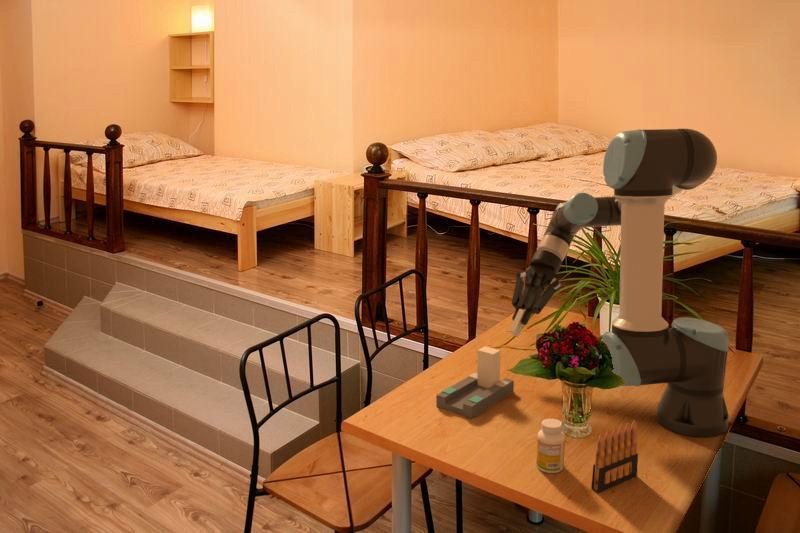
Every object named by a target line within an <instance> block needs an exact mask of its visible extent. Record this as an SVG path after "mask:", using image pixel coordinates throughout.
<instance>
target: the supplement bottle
mask: <svg viewBox="0 0 800 533" xmlns="http://www.w3.org/2000/svg"><path fill="white" fill-rule="evenodd" d="M565 446H566V435H565V433H564V432H563V422H562V421H561V420H560V419H555V418H546V419H543V420H542V421H541V429H540V430H539V431H538V433H537V442H536V467H537V468H538V470H540V472H541V471H542V472H544V473H548V474H556V473H557V474H558V473H560V472H562V471H563V469H564V466H565V448H566V447H565Z"/></svg>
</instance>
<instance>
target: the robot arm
mask: <svg viewBox="0 0 800 533" xmlns="http://www.w3.org/2000/svg"><path fill="white" fill-rule="evenodd" d="M717 164H718V155H717V150H716V147H715V145H714V143H713V141H711V139H710V138H709V137H707V135H705V134H704V133H702V132H700V131H698V130H695V129H693V128H692V129H691V128H668V129H667V128H666V129H665V128H664V129H659V128H658V129H639V128H638V129H633V130H625V131H621V132H619V133H617V134H616V135H614V136H613V137H612V139H611V140H610V142H609V143H608V145H607V148H606V150H605V153H604V158H603V166H602V167H603V168H602V169H603V170H602V172H603V173H602V174H603V177H604V182H605V184H606V186H608V187H609V188H610V189H613V196H596V197H594V196H593V195H592V194H590V193H588V192H587V193H586V192H578V193H576V194H573V196H571V197H570V198H569V199H567V200H566V201H565V202H560V203H559V204H558V205H557V206H556V208H555V210H554V211H553V212H552V216H551V218H550V221H549V223H548V225H547V227H546V229H545V232H544V233H543V236H542V237H541V239H540V242H539V243H538V246H537V247H536V251H535V252H534V255H533V256H532V258H531V261H530V264H529V267H528V268H526V269H525V271H524V272H520V271H516V273H515V279H516V281H515V285H514V290H513V295H512V300H511V305H512V306H513V307H514V309H515V311H514V313H513V315H512V317H511V320H512V324H511V326H510V328H509V329H508V330H509V333H511V336H514V337H519V336H520V334H521V331H522V329H523V327H524V325H525V326H526V325H527V324H529V323H528V322H529V320H530V318H531V316H532V315H534V314H535V315H539V314H540V313H541V312H542V311H543V310H544V308H545V307H546V306H547V304H548V303H549V301H550V300H551V299H552V298H553V296H554V295H555V293H556V292H557V291H559V290H560V289H561V288H562V284H561V283H560V281H559V280H558V279H557V274H558V273H559V270H560V269H561V266H562V265H563V261H564V259H565V257H566V256H567V253H568V251H569V249H570V246H571V245H572V242H573V240H574V238H575V236H576V234H577V233H579V231H581V230H582V229H583V228H592V227H593V228H594V227H595V228H596V227H612V226H613V227H616V226H617V227H619V226H620V254H619V256H620V259H619V260H620V262H619V266H620V267H619V310H618V311H619V312H618V316H616V317H615V318H614V319H613V320H612V321H611V331H608V332H606V333H603V335H602V339H601V340H600V342H601V341H603V342H604V343H605V344H606V345H607V347H608V349H609V351H610V354H611V357H612V364H613V368H614V369H613V370H612V372H613V373H614V374H616V375H618V376H620V377H621V378H622V379H623V380H624V381H625V382H626V383H625V384H623V385H619V386H621V387H640V386H649V385H658V384H667V385H666V387H665V389H664V391H663V393H662V396H661V398H660V400H659V402H658V403H657V405H656V406H657V407H656V414H655V418H656V420H657V422H658V423H659V424H660V425H661V426H663V427H664V428H666V429H667V430H670V431H672V432H675V433H677V434H680V435H685V436H688V437H689V436H691V437H696V438H698V437H700V438H705V437H706V438H707V437H708V438H709V437H717V436H719V435H722V434H724V433H725V432H727V430H728V428H729V423H730V422H729V420H730V417H729V416H730V415H729V411H728V408H727V403H726V400H725V395H724V388H725V379H726V371H727V370H726V369H727V360H728V352H729V350H730V348H729V343H730V342H729V333H728V331H726V329H724V328H723V327H722V326H720V325H718V324H716V323H713V322H712V321H707V320H706V319H705V320H704V319H700V318H694V317H682V316H681V317H676V318H675V319H673V321H672V323H671V328H669V325H670V324H669V323H668V321H666V320H665V318H664V317H662V316H663V315H662V306H663V305H662V302H663V275H664V274H663V270H664V267H663V266H664V263H663V262H664V232H665V230H664V229H665V204H666V203H667V202H668V201H669V200H670V199H671V198H672V197H674V196H676V195H677V194H679V193H681V192H682V191H690V190H694V189H696V188H697V187H699V186H701V185H703V184H704V183H705V182H707V181H708V180H709V179H710V178H711V177H712V175H713V173H714V172H715V170H716V167H717ZM570 239H571V240H570ZM526 280H527V281H526ZM525 283H526V284H525ZM524 285H525V288H524Z"/></svg>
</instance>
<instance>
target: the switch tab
mask: <svg viewBox="0 0 800 533" xmlns="http://www.w3.org/2000/svg"><path fill="white" fill-rule="evenodd" d="M501 351H502V350H500V349H498V348H494V347H489V346H486V345H484V346H483V347H481V348H479V349H477V372H478V373H477V385H479V386H482V387H485V388H490V387H491V386H493V385H494V384H495V383H497V382H498V381H500V379H501Z"/></svg>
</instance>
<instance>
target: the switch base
mask: <svg viewBox="0 0 800 533" xmlns="http://www.w3.org/2000/svg"><path fill="white" fill-rule="evenodd" d="M477 373H478V371H476V372H473V373H471V374H469V375H467V377H465V378H463V379H462V380H460V381H458V382H457V383H455V384H453V385H451V386H449V387H446V388H445V389H443V390H441V392H439V393H437V394H436V398H435V399H436V407H438V408H439V409H442V410H446V411H449V412H452V413H454V414H458V415H461V416H463V417H466V418H468V419H473V418H476V417H477V416H478V415H479V414H482V413H483V412H484V411H486V410H487V409H489V408H491V407H492V406H493V405H495V404H497V403H498V402H500V401H501V400H503V399H504V398H506V397H508V396H510V395H511V394H513V393H514V388H515V387H514V384H515V382H514V381H515V380H513V379H510V378H507V377H505V378H503V379H501V380H500V381H498V382H497V383H495V384H494V385H493V386H491V387H490V388H485V387H482V386H479V385H477Z"/></svg>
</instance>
